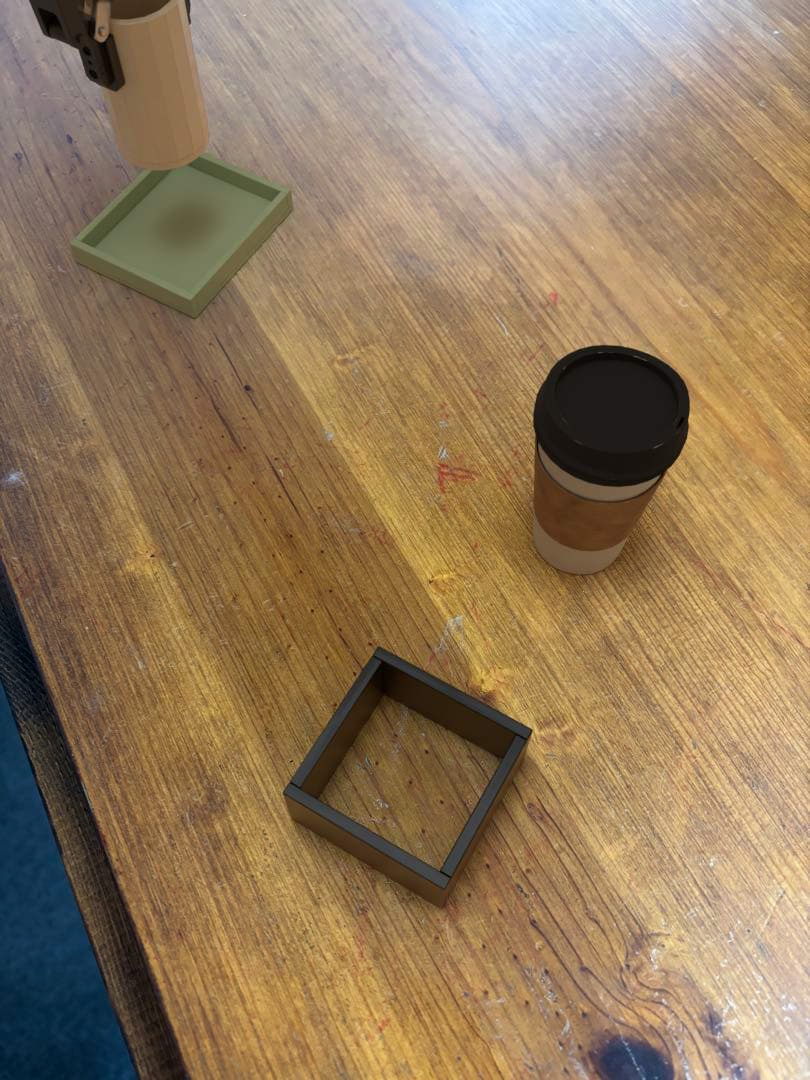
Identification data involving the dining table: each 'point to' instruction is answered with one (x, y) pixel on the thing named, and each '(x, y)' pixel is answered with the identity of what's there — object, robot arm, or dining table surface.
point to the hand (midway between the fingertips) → (142, 53)
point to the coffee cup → (602, 451)
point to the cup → (156, 85)
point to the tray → (183, 230)
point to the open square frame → (438, 705)
